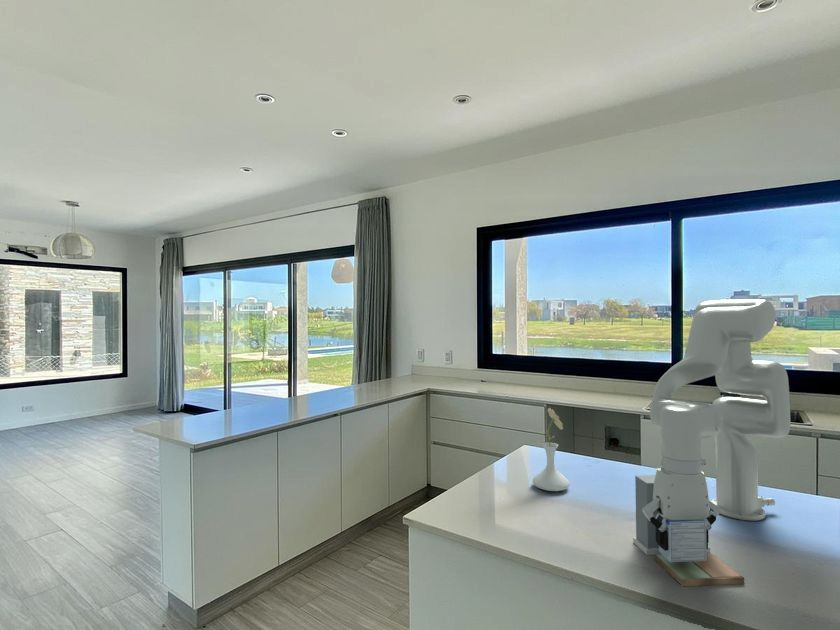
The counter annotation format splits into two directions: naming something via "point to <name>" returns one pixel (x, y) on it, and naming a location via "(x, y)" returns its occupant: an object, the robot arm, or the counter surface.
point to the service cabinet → (643, 526)
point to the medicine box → (685, 541)
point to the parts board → (700, 571)
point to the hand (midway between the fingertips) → (682, 546)
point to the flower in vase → (551, 464)
